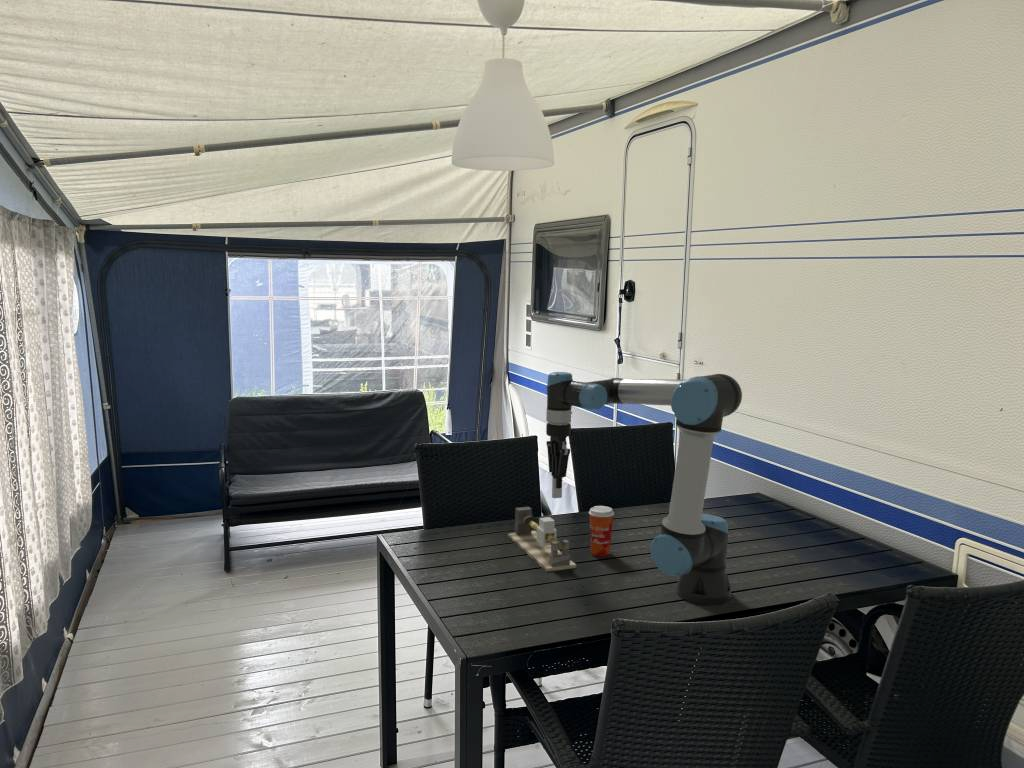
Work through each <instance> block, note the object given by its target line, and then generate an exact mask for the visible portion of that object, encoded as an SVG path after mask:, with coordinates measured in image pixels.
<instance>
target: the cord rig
mask: <svg viewBox="0 0 1024 768" xmlns="http://www.w3.org/2000/svg"><path fill="white" fill-rule="evenodd" d="M537 527H539V524H538V520H537V519H536V517H535V516H534V515H533V509H532V508H531V507H530V506H523V507H522V506H521V507H515V508H514V532H511V533H508V534H507V537H508V538H509V539H510V540H511V541H513V542H514V543H515V545H517V546H518V547H519V548H520V549H521V550H522V551H524V553H525V554H527V555H528V557H530V558H531V559H532V560H533V561H535V563H536V564H538V565H539V566H540V568H542V569H543V570H544V571H545V572H554V571H562V570H569V569H577V564H576V563H575V562H574V561H573V560H571V555H570V541H569V540H568V539H562V540H561V541H560V540H558V539H555V538H554V537H553V536H552V535H550V534H549V533H548V534H545V539H546V540H548V541H549V542H550V543H551V545H548V546H542V545H541V544H540V543H538V542H537ZM560 550H561V551H560Z"/></svg>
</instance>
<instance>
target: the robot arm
mask: <svg viewBox="0 0 1024 768" xmlns="http://www.w3.org/2000/svg"><path fill="white" fill-rule="evenodd" d="M546 383H547V385H546V395H547V396H546V399H547V400H546V414H545V415H546V422H547V423H546V424H545V425H546V426H545V429H546V430H545V432H546V436H548V437H549V440H546V449H547V460H548V472H549V473H551V477H552V478H551V479H552V481H551V482H552V483H551V499H561V498H563V496H562V495H563V478H566V477H567V471H568V464H569V458H570V457H569V456H570V453H571V448H568V447H567V445H568V443H567V438H568V437H569V436H571V435H572V434H571V433H572V432H571V431H572V424H571V422H572V414H573V411H572V407H577V408H581V409H582V408H583V409H586V410H596V411H598V410H601V409H602V408H603V407H604V406H605V405H610V404H611V405H612V404H615V405H617V404H619V405H622V404H623V405H644V406H645V405H648V406H652V405H653V406H669V407H671V411H672V412H673V414H674V417H675V418H676V419H675V420H676V421H675V426H676V427H677V429H679V431H680V434H679V442H678V448H677V454H676V462H675V463H676V464H675V470H674V476H673V481H672V482H673V483H672V490H671V497H670V503H669V510H668V511H669V512H668V515H666V516H665V517H664V518H663V519H662V521H661V526H660V534H658V535H657V536H656V537H654V539H652V541H651V543H650V557H651V559H652V561H653V563H655V565H656V567H657V568H658V569H659V570H660V571H661V572H662V573H664V574H666V575H667V576H671V577H679V579H678V581H677V583H676V594H677V595H678V596H679V597H680V598H681V599H684V600H686V601H687V602H690V603H695V604H701V605H706V606H707V605H709V606H711V605H713V606H715V605H720V604H725V603H727V602H729V601H730V600H731V598H732V588H731V585H730V581H729V577H728V574H727V558H728V557H727V555H728V540H729V539H728V538H729V524H728V521H727V520H726V519H724V518H723V517H720V516H717V515H712V514H709V513H703V511H704V510H703V509H704V502H705V497H706V491H707V485H708V479H709V478H708V477H709V472H710V465H711V458H712V451H713V445H714V439H715V436H717V435H718V434H719V433H721V431H722V428H723V420H724V418H725V417H728V416H730V415H732V414H733V413H735V412H737V410H738V409H739V407H740V405H741V403H742V399H743V391H742V388H741V385H740V384H739V382H738V381H737V380H736V379H735V378H733V377H732V376H730V375H728V374H723V373H715V374H708V375H701V376H694V377H690V378H688V379H687V378H686V379H663V378H662V379H661V378H660V379H658V378H657V379H656V378H655V379H650V378H649V379H647V378H644V379H643V378H639V379H637V378H621V377H612V378H608V379H603V380H602V379H601V380H595V381H588V382H587V381H586V382H585V381H576V380H574V379H573V374H572V373H571V372H568V371H553V372H550V373H549V374H548V376H547V382H546Z"/></svg>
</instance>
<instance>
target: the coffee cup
mask: <svg viewBox="0 0 1024 768" xmlns="http://www.w3.org/2000/svg"><path fill="white" fill-rule="evenodd" d="M588 514H589V535H590V539H589V540H590V553H591V555H593V556H596V557H608V556H609V555H610V549H611V541H612V540H611V539H612V528H613V519H614V516H615V512H614V510H613V508H612V507H609V506H604V505H595V506H593V507H591V508H589V511H588Z"/></svg>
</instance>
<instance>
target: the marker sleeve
mask: <svg viewBox="0 0 1024 768" xmlns="http://www.w3.org/2000/svg"><path fill="white" fill-rule="evenodd" d="M538 521H539V522H538V523H539V524H538V525H539V527H537V531H536V532H537V542H538V543H540V544H541V545H542V546H548V545H551V543H550V542H549V541H548V540H546V539H545V534H548V533H549V534H550V535H552V536H553V537H554V538H555V539H557V537H558V536H557V535H558V534H557V533H558V532H557V531H558V530H557V529H556V527H555V520H554V519H553V518H552V517H550V516H545V517H539V520H538ZM557 540H558V539H557Z"/></svg>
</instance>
